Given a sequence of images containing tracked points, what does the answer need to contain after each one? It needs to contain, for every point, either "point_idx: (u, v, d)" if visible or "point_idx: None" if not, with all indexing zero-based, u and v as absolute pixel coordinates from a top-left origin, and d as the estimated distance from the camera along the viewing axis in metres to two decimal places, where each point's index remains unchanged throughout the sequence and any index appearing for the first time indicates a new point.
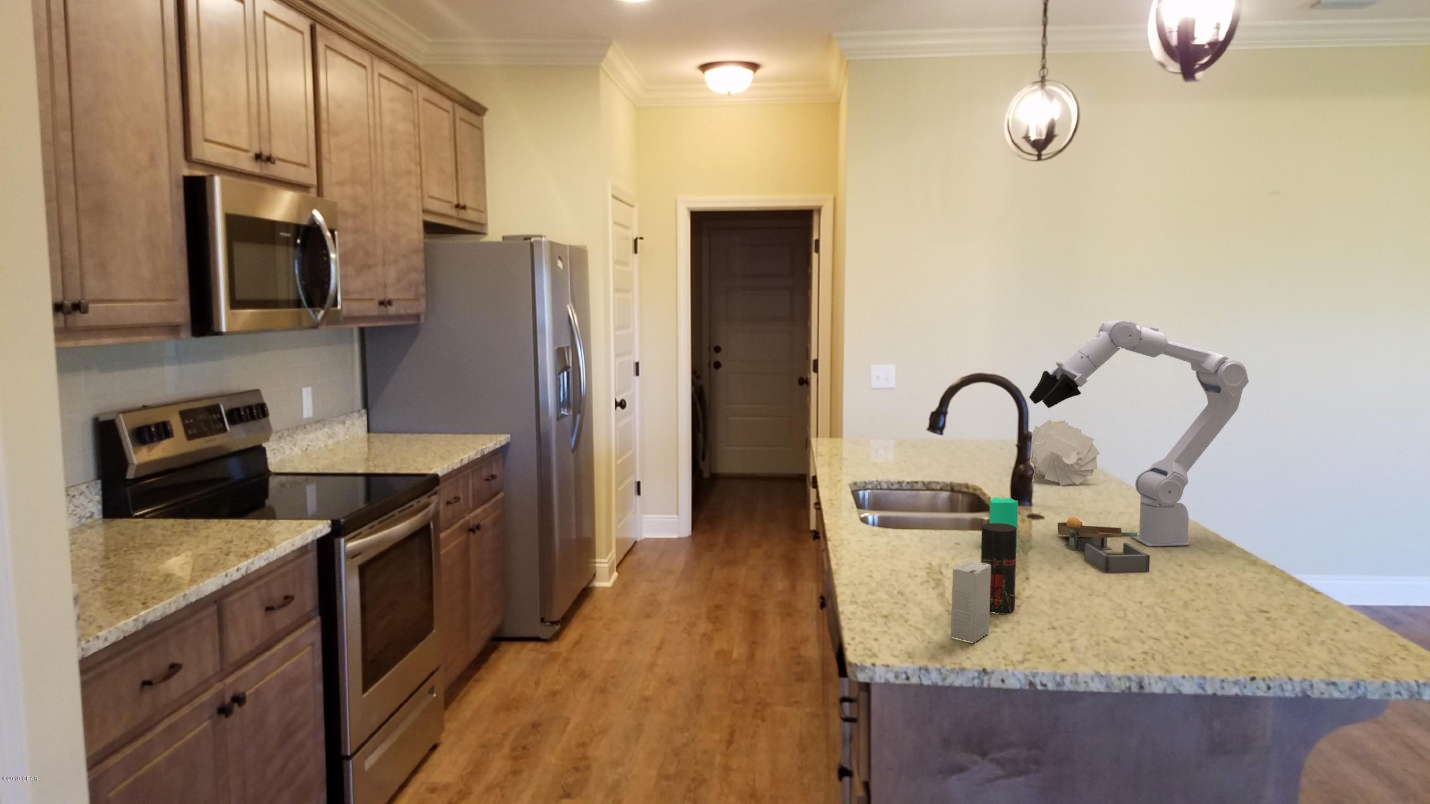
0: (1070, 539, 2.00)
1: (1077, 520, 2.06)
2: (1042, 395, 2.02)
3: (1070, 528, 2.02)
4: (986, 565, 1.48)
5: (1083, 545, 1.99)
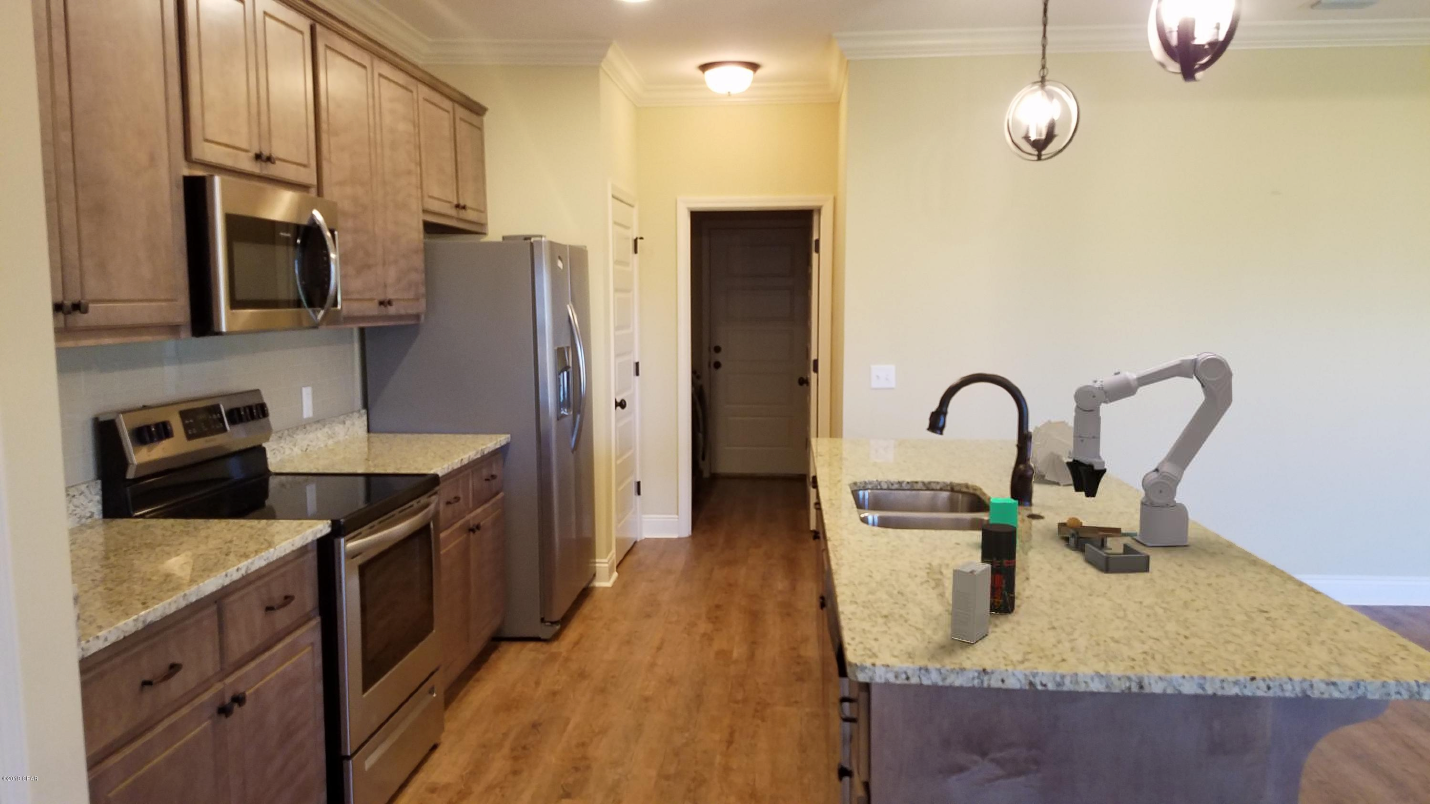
0: (1070, 539, 2.00)
1: (1077, 520, 2.06)
2: (1083, 481, 2.10)
3: (1070, 528, 2.02)
4: (986, 565, 1.48)
5: (1083, 545, 1.99)
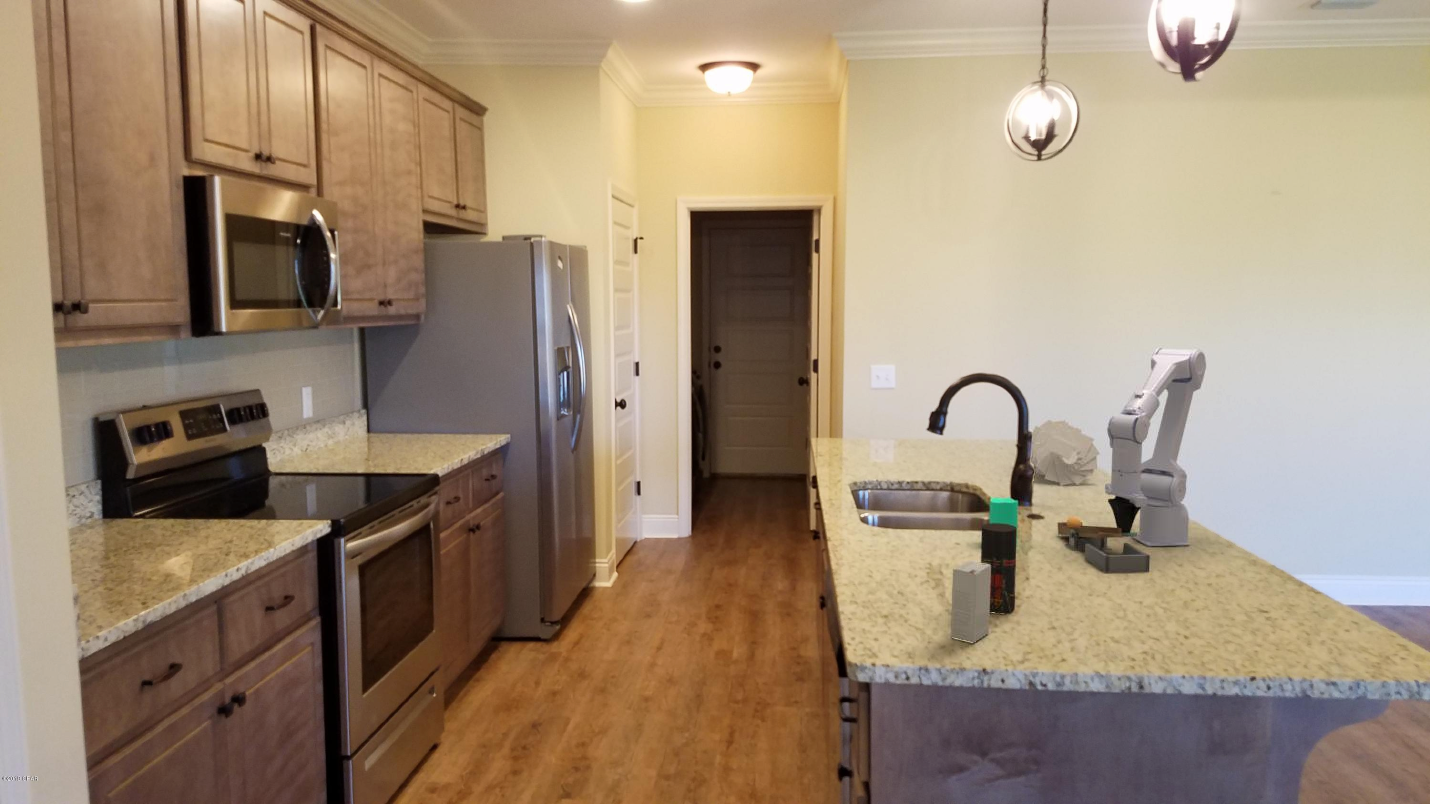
0: (1070, 539, 2.00)
1: (1077, 520, 2.06)
2: None
3: (1070, 528, 2.02)
4: (986, 565, 1.48)
5: (1083, 545, 1.99)
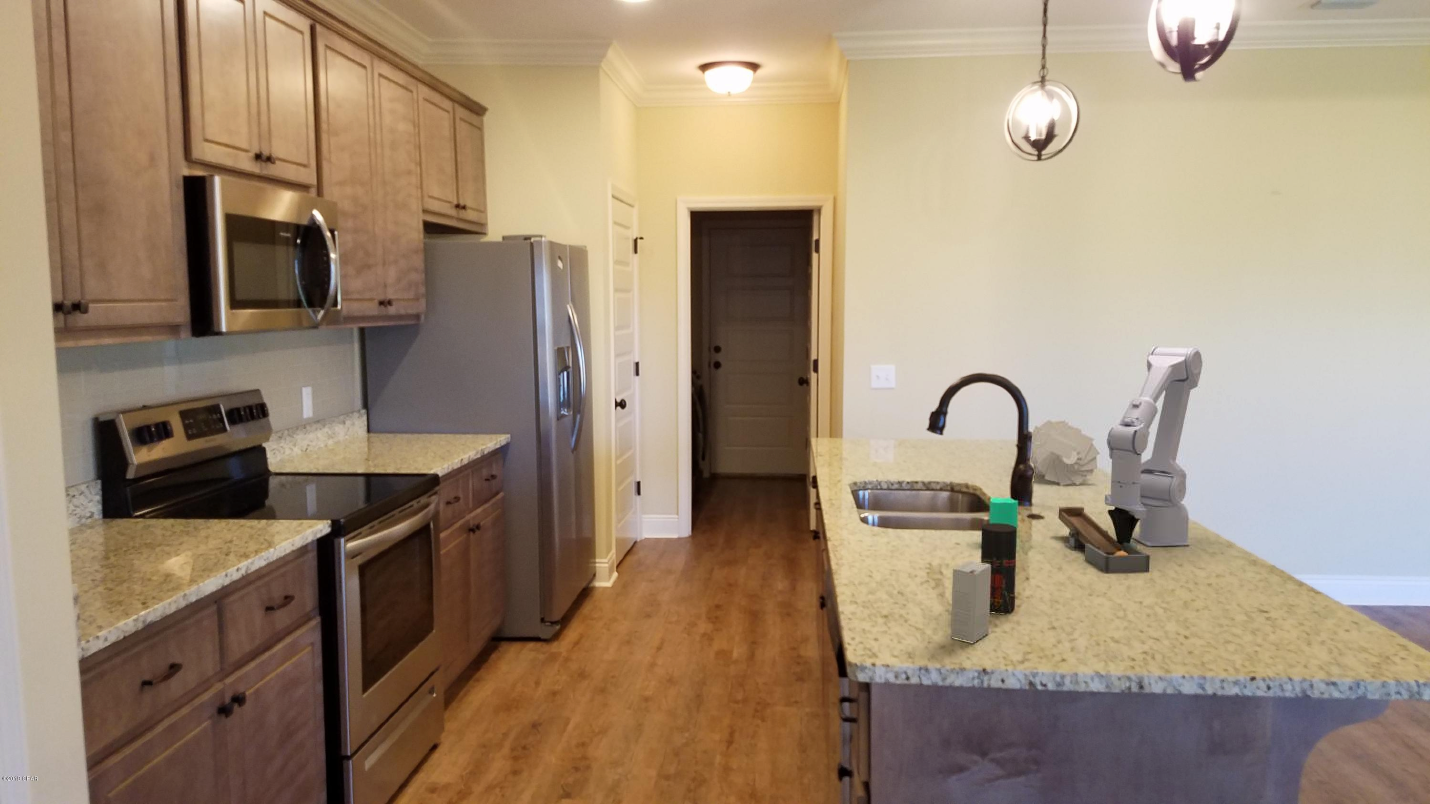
0: (1070, 539, 2.00)
1: None
2: None
3: (1071, 524, 2.02)
4: (986, 565, 1.48)
5: (1083, 545, 1.99)
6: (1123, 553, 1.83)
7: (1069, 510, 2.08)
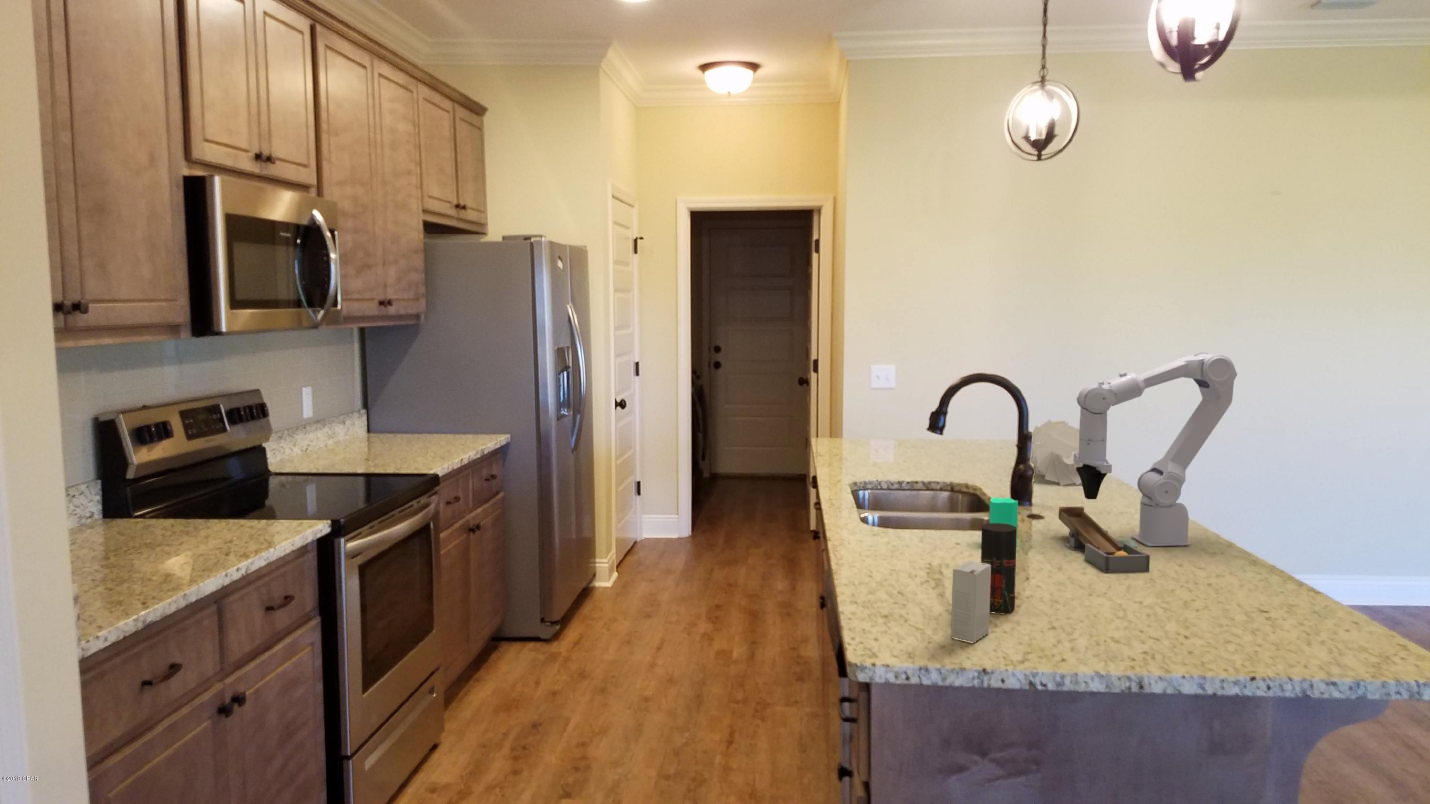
0: (1070, 539, 2.00)
1: None
2: None
3: (1071, 524, 2.02)
4: (986, 565, 1.48)
5: (1083, 545, 1.99)
6: (1123, 553, 1.83)
7: (1069, 510, 2.08)
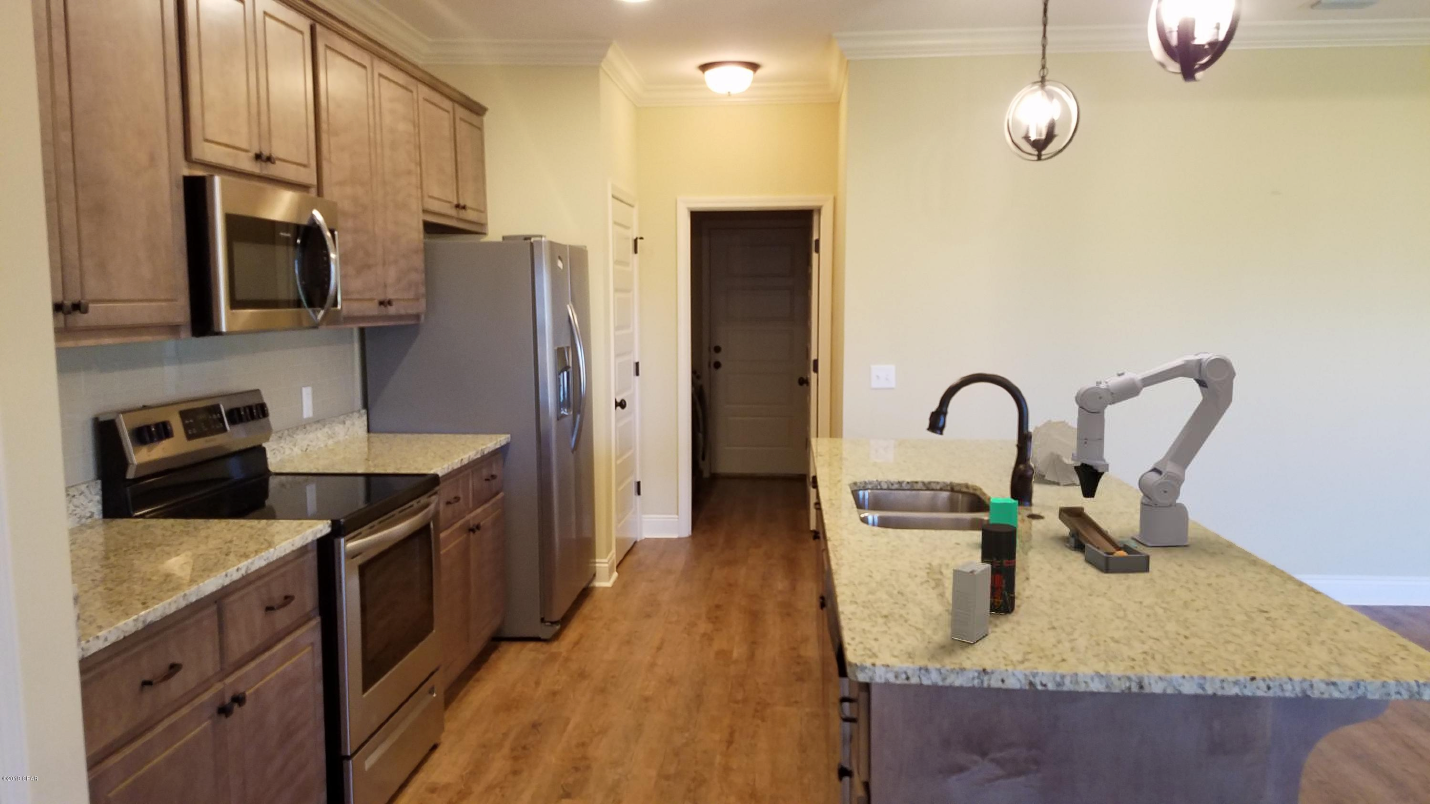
0: (1070, 539, 2.00)
1: None
2: None
3: (1071, 524, 2.02)
4: (986, 565, 1.48)
5: (1083, 545, 1.99)
6: (1122, 552, 1.84)
7: (1069, 510, 2.08)
